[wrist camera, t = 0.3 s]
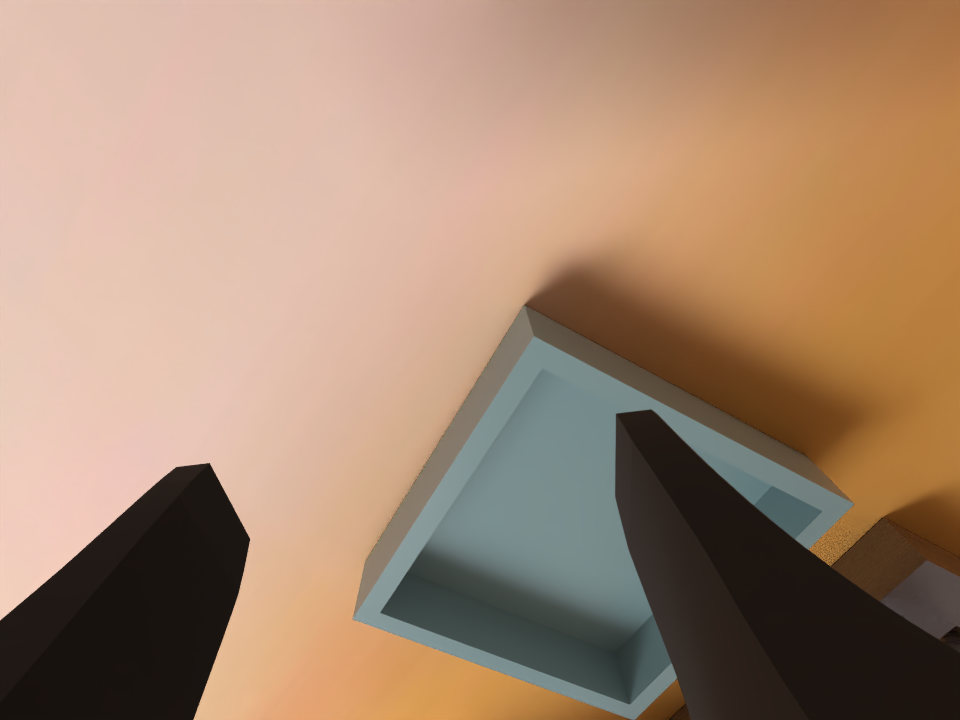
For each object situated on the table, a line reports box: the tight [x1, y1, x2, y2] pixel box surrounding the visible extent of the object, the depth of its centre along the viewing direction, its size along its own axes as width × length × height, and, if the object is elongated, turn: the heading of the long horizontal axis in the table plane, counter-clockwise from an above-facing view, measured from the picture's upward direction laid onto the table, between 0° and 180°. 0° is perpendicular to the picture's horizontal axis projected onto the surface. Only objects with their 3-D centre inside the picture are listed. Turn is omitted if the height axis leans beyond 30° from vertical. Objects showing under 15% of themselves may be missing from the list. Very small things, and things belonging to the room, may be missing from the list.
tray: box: [353, 305, 854, 720], centre depth 22 cm, size 14×14×3 cm
